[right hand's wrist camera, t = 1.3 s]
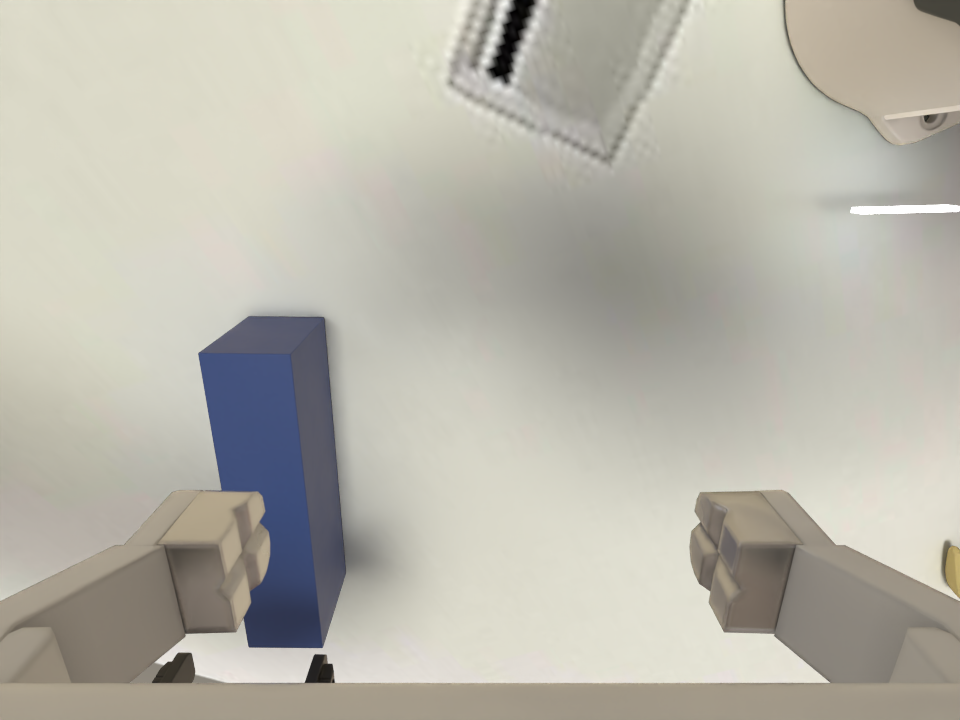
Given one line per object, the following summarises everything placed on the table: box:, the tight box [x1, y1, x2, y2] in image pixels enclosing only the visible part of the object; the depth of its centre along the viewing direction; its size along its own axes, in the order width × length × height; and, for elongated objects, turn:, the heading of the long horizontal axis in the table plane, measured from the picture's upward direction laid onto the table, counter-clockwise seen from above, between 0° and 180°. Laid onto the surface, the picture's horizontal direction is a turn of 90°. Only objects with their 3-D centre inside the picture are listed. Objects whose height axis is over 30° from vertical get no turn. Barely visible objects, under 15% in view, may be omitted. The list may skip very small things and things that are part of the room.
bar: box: [199, 316, 346, 648], centre depth 41 cm, size 23×6×8 cm, turn 179°
